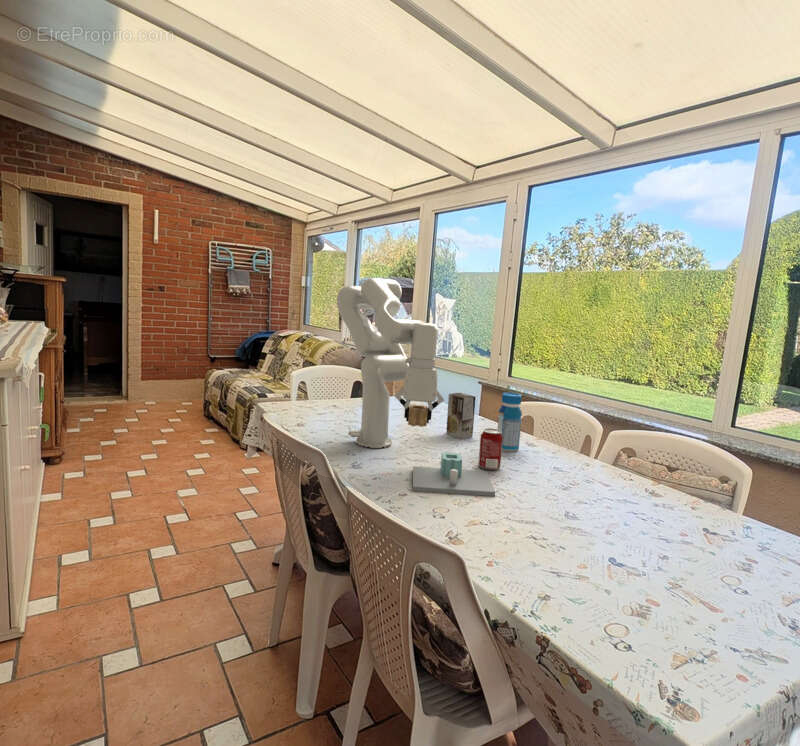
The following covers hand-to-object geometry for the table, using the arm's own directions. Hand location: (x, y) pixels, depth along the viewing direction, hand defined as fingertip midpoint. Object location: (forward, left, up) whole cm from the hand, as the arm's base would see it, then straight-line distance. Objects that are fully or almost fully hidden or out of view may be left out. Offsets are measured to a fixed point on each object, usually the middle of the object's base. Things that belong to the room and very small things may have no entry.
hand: (417, 420), depth 146 cm
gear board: (+10, -14, -14) cm, 22 cm away
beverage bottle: (+34, +23, -14) cm, 43 cm away
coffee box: (+17, +37, -14) cm, 44 cm away
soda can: (+23, +1, -14) cm, 28 cm away
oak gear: (0, 0, -1) cm, 1 cm away
